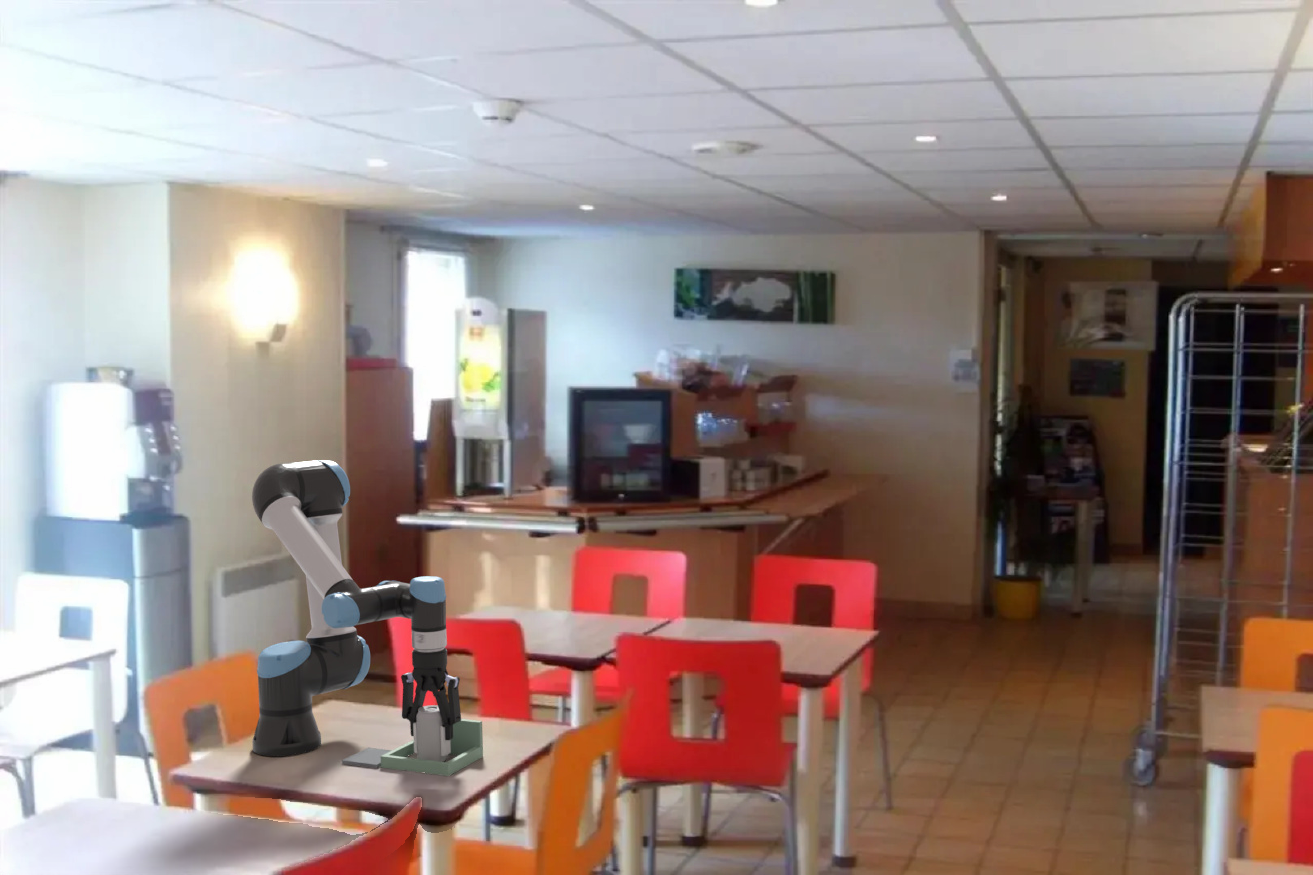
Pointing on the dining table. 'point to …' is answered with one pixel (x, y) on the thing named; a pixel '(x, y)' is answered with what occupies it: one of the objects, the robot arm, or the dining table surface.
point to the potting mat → (366, 758)
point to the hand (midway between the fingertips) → (432, 752)
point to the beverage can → (429, 733)
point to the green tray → (463, 744)
